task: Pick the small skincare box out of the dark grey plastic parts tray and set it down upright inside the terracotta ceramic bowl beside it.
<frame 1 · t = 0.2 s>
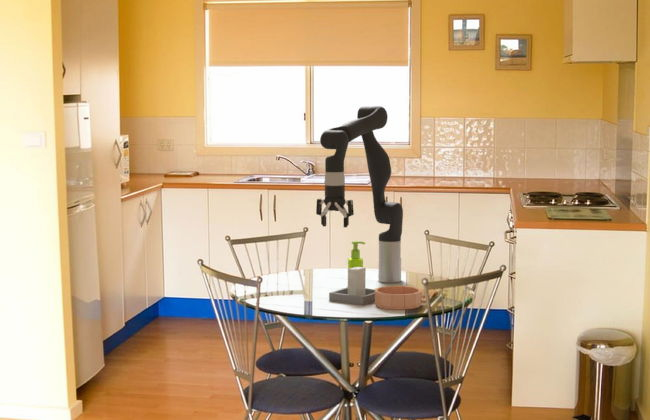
hand: (334, 226, 353), 28 cm above the table, tool pointing down, fingers open, 8 cm apart
soap dispenser: (356, 291, 372), on the table
bowl: (397, 304, 347), on the table
skincare box: (356, 299, 357), resting in parts tray
parts tray: (356, 299, 357), on the table
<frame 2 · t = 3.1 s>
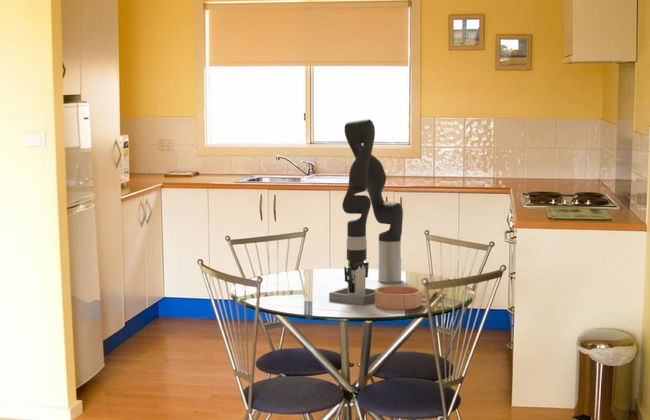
hand: (356, 291, 357), 3 cm above the table, tool pointing down, fingers closed on skincare box, 6 cm apart
skincare box: (356, 299, 357), resting in parts tray, touching gripper
everything else where it was.
when the fingers open (5 cm above the table, at t = 9.6 s): skincare box drops 1 cm, resting on bowl.
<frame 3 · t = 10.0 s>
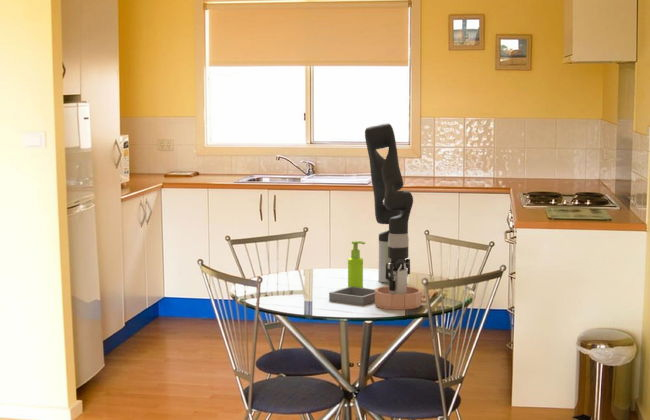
hand: (397, 288, 346), 6 cm above the table, tool pointing down, fingers open, 8 cm apart
skincare box: (397, 302, 347), point 1 cm above the table, touching bowl
everything else where it was.
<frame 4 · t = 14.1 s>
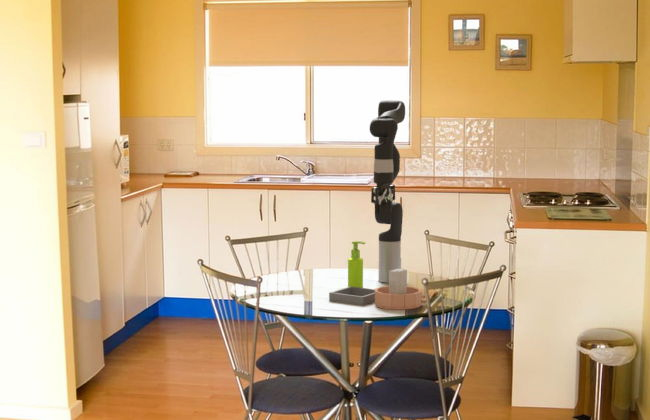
hand: (383, 212, 362), 32 cm above the table, tool pointing down, fingers open, 8 cm apart
nothing on the table moved.
at the end: skincare box inside the target area on the bowl (0.2 cm from its centre), point 0.8 cm above the bowl's base; skincare box tilted 0°; the gripper is holding nothing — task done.
